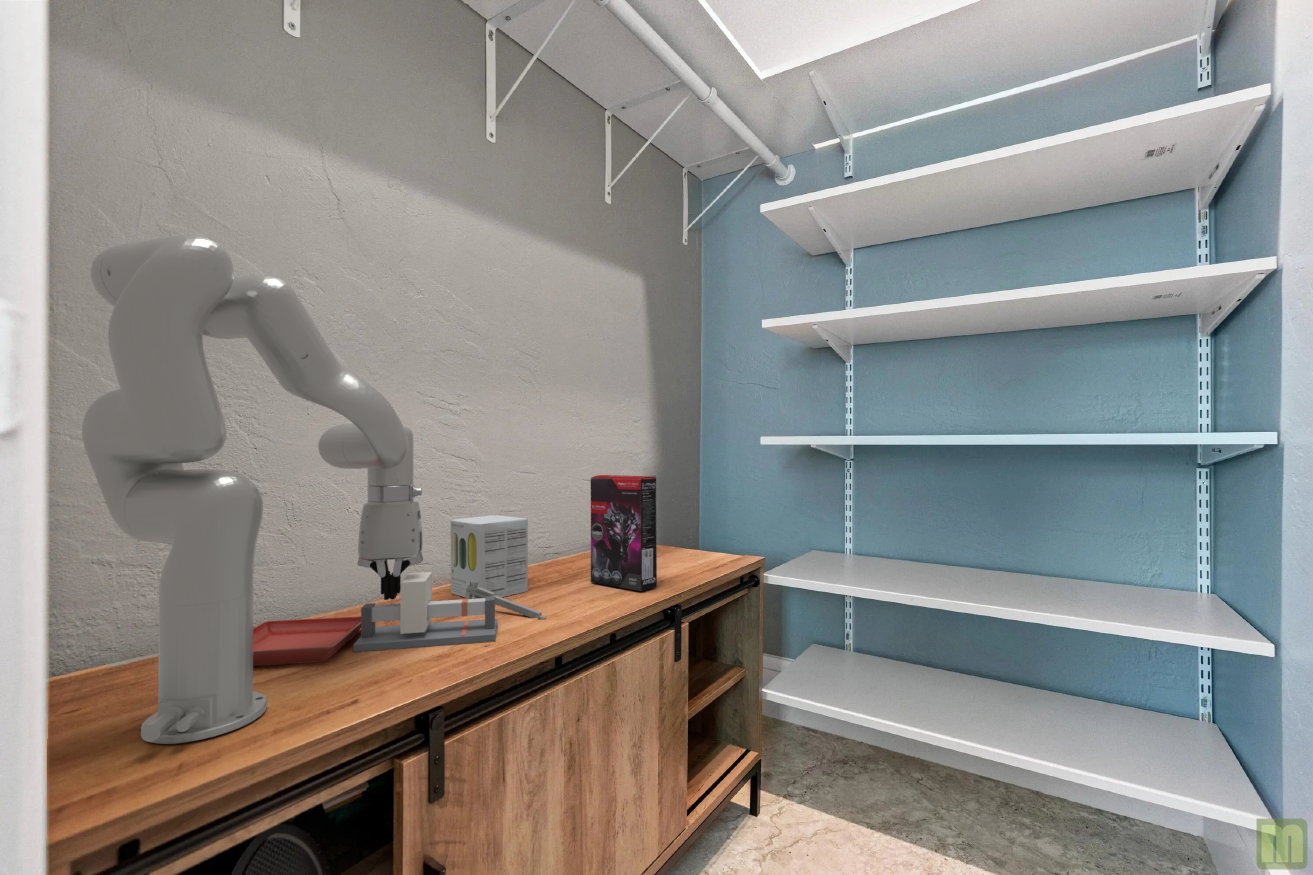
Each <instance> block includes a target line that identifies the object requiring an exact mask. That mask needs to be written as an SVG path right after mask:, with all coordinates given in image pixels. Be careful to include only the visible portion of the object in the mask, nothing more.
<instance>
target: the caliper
mask: <svg viewBox="0 0 1313 875" xmlns="http://www.w3.org/2000/svg"><path fill="white" fill-rule="evenodd" d="M477 586H478V582H475V581H474V580H472V581H470V585H468V586H467V590H466V597H465V599H472V598H473V596H474V599H479V598H486V597H488V596H495V606H496V605H497V606H499V607H502V608H504V609H507V610H509V611H512V612H515V613H517V614H520V615H523V616H526V618H527V617H528V618H530V619H534V618H539V619H540V620H542V619H544V620H546V619H547V616H545V615H543V613H542V611H539V610H537V609H535V608H532V607H528V606H526V605H523V604H521V603H517V602H515V601H512V600H510V599H507V598H505V597H499V596H496V595H495V593H494V592H491V591H489V590H486V589H484V588H481V587H477ZM545 618H546V619H545ZM539 619H538V620H539Z"/></svg>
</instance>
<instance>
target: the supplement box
mask: <svg viewBox="0 0 1313 875" xmlns="http://www.w3.org/2000/svg"><path fill="white" fill-rule="evenodd" d="M528 520H529V519H528V518H524V517H517V516H510V515H497V514H494V515H493V514H491V515H483V516H473V517H464V518H456V519H450V521H449V522H450V594H452V595H456V596H459V597H463V598H466V590H467V586H468V585H470V581H472V580H474V581H475V582H478V586H477V587H481V588H484V589H486V590H489V591H491V592H494V593H495V595H496V596H499V597H502V598H505V597H508V596H509V597H510V596H513V594H514V595H518V594H523V593H527V592H529V586H528V585H529V580H528V578H529V577H528V574H529V572H528V570H529V568H528V566H529V564H528V563H529V561H528V559H529V558H528V557H529V556H528V554H529V552H528V551H529V550H528V549H529V547H528V545H529V543H528V542H529V541H528V540H529V534H528V533H529V532H528V530H529V529H528V528H529V524H528V522H529V521H528ZM472 599H474V596H473V598H472Z"/></svg>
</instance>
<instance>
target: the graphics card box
mask: <svg viewBox="0 0 1313 875" xmlns="http://www.w3.org/2000/svg"><path fill="white" fill-rule="evenodd" d="M657 550H658V549H657V477H656V475H654V476H653V475H650V476H649V475H648V476H647V475H621V474H620V475H619V474H599V475H595V476H591V477H590V583H592V584H597V583H598V584H597V585H602V584H603V585H602V586H609V587H617V588H621V589H626V590H632V591H638V592H643V591H645V590H649V589H652V588H657V587H658V586H657V585H658V583H657V580H658V579H657V578H658V573H657V570H658V568H657V566H658V564H657V560H658V559H657V558H658V556H657Z"/></svg>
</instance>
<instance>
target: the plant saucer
mask: <svg viewBox="0 0 1313 875" xmlns="http://www.w3.org/2000/svg"><path fill="white" fill-rule="evenodd" d="M359 631H361V615H359V616H341V617H338V616H337V617H322V618H321V617H319V618H302V619H301V618H300V619H296V618H295V619H281V620H268V621H263V622H261V623H260V624H257V625H256V626H255V627H254V626H253V667H256V666H257V667H259V665H260V666H273V665H274V666H276V665H287V664H289V665H291V664H307V663H322V662H323V663H324V662H326V661H328V660H329V659H330V658H331V657H332V656H334V654H336V653H337V652H338V651H339V650H340V649H341V648H342V647H343V646H345V645H346V644H347V643H348V642H349V641H350V640H352V639H353V638H354V637H355V636H356V635H357V634H358V632H359Z"/></svg>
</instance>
